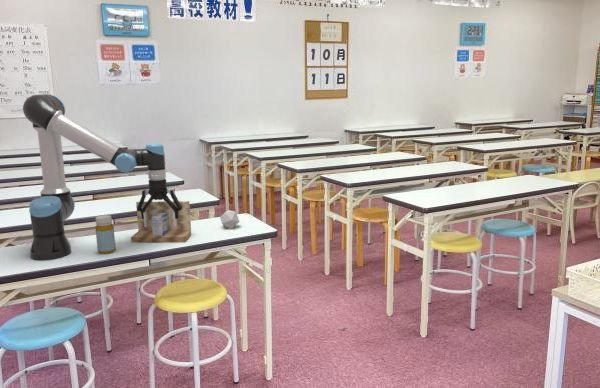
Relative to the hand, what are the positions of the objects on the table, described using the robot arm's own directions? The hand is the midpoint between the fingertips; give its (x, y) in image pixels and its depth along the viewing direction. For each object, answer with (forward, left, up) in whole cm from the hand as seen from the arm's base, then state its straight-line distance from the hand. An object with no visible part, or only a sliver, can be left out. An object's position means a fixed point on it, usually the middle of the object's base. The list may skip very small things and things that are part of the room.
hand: (160, 226), depth 228 cm
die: (+28, +18, -6) cm, 34 cm away
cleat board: (0, 0, -6) cm, 6 cm away
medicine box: (0, 0, -4) cm, 4 cm away
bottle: (-18, -18, -6) cm, 26 cm away
